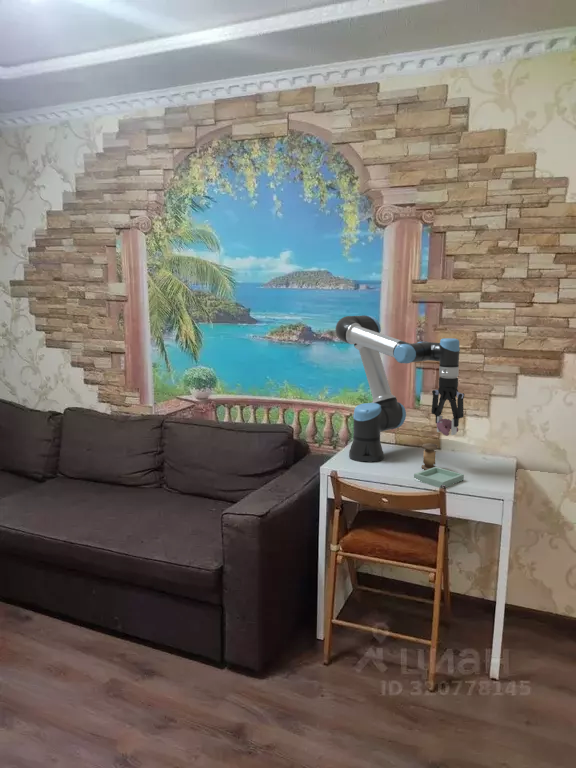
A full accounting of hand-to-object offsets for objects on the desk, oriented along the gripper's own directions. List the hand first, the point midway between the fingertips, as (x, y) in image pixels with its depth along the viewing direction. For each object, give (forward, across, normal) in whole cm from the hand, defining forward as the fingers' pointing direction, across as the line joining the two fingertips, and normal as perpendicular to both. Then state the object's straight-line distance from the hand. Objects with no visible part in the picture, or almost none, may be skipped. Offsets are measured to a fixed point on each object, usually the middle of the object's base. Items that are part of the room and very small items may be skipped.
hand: (446, 432), depth 235 cm
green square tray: (+15, +6, -15) cm, 22 cm away
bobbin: (+15, -4, -5) cm, 17 cm away
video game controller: (0, 0, 0) cm, 1 cm away
